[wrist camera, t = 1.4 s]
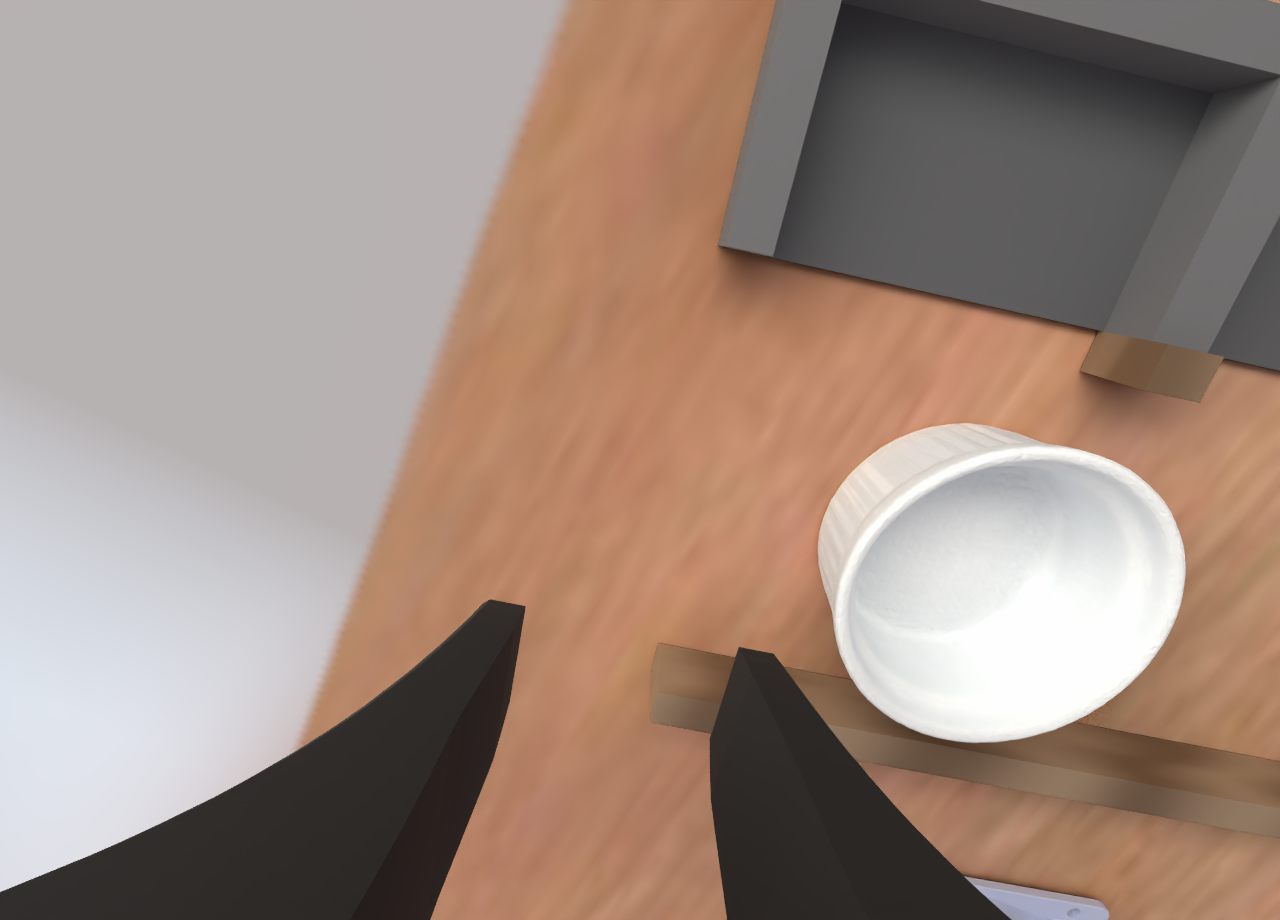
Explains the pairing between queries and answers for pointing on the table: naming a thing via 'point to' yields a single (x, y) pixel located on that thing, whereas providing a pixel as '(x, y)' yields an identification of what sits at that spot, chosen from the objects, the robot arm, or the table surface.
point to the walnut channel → (1041, 763)
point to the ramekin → (996, 581)
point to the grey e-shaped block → (1030, 159)
